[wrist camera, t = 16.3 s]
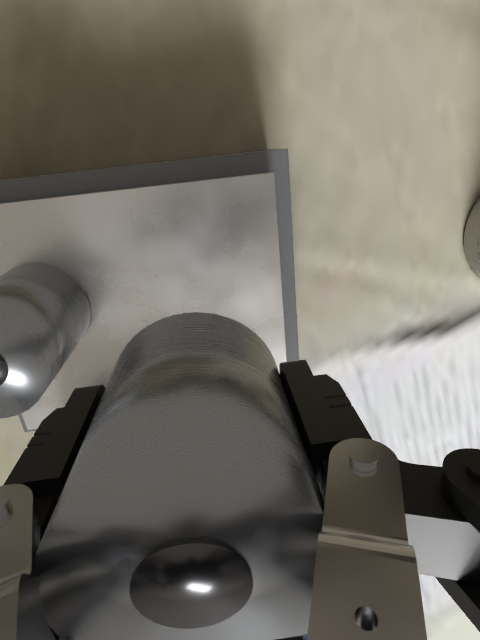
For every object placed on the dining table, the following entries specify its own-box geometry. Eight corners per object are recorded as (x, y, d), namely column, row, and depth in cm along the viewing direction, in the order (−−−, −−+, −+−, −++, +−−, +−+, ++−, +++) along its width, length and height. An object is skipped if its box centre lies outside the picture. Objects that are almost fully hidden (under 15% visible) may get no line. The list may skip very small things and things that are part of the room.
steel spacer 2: (272, 301, 11) (341, 444, 6) (284, 443, 13) (343, 655, 8) (93, 325, 11) (-18, 496, 5) (131, 465, 13) (77, 699, 7)
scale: (267, 149, 27) (344, 145, 12) (283, 378, 34) (345, 549, 19) (-3, 179, 26) (-262, 214, 12) (70, 407, 33) (-34, 607, 19)
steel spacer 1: (63, 251, 20) (5, 292, 15) (105, 335, 22) (69, 400, 17) (-27, 280, 21) (-116, 331, 15) (23, 361, 23) (-40, 432, 17)
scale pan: (271, 171, 21) (274, 172, 20) (286, 387, 26) (288, 394, 25) (-47, 208, 20) (-57, 210, 19) (32, 421, 25) (27, 429, 24)
